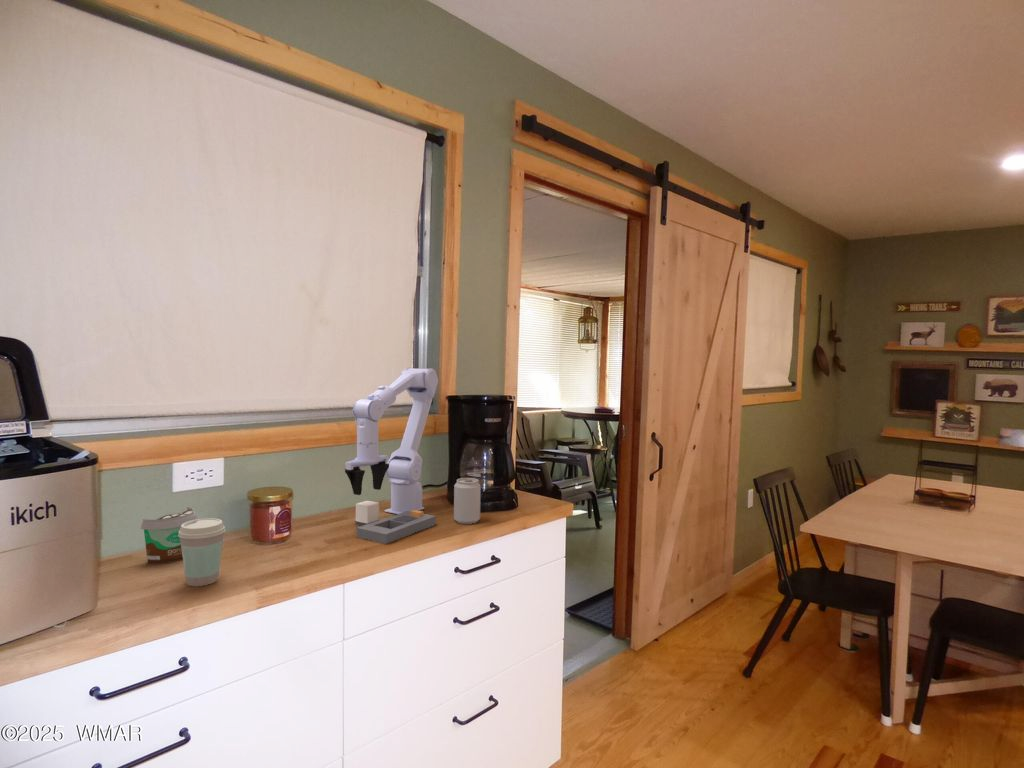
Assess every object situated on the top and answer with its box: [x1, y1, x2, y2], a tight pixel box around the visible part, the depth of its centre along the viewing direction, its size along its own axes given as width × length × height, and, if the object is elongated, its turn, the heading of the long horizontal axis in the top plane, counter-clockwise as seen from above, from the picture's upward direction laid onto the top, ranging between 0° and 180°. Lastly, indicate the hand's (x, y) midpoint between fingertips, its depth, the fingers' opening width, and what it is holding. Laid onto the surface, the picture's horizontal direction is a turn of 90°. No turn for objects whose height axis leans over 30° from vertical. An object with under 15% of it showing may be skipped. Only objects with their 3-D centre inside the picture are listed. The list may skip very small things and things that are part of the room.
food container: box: [140, 506, 198, 564], centre depth 133 cm, size 12×6×10 cm, turn 160°
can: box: [453, 477, 482, 525], centre depth 166 cm, size 8×8×12 cm
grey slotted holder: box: [356, 510, 437, 545], centre depth 156 cm, size 20×10×4 cm, turn 150°
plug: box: [354, 500, 380, 527], centre depth 161 cm, size 4×4×6 cm
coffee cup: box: [178, 517, 226, 587], centre depth 119 cm, size 8×8×12 cm
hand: (367, 491), depth 161 cm, fingers open, 7 cm apart
